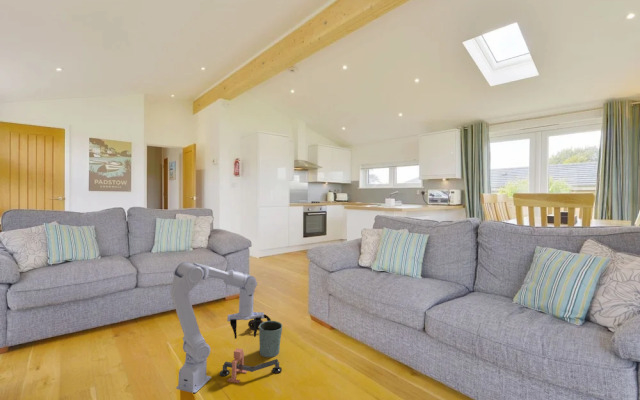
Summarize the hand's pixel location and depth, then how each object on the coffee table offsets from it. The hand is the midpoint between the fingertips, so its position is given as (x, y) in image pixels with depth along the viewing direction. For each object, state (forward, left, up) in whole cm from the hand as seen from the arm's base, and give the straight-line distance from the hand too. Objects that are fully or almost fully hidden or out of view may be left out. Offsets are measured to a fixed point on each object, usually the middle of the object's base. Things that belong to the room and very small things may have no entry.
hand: (245, 336), depth 127 cm
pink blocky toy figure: (-10, -2, -10) cm, 15 cm away
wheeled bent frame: (-6, -6, -10) cm, 13 cm away
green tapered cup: (+10, -7, -11) cm, 16 cm away
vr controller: (+29, +8, -11) cm, 32 cm away
